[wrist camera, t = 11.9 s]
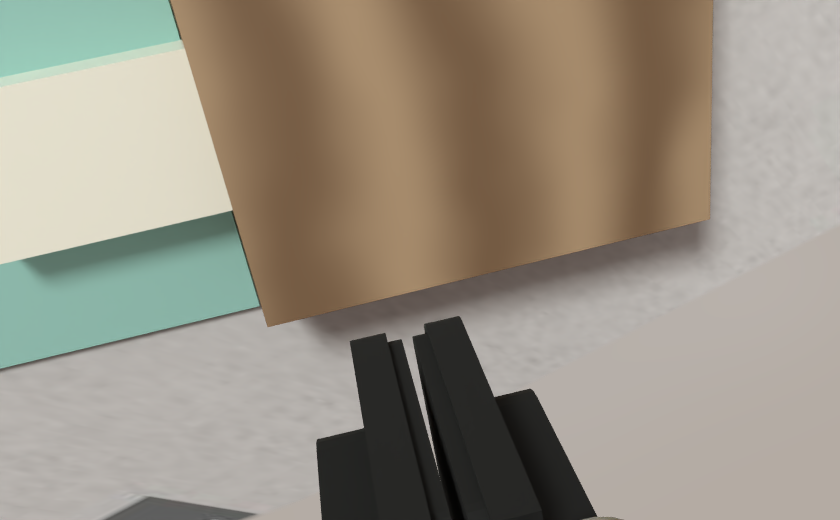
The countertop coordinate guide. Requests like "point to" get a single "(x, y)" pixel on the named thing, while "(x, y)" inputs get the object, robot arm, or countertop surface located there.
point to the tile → (103, 151)
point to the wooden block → (447, 134)
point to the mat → (122, 256)
